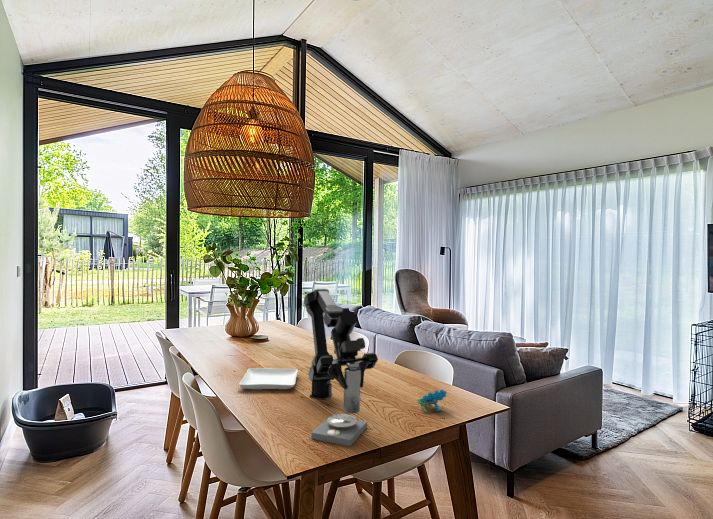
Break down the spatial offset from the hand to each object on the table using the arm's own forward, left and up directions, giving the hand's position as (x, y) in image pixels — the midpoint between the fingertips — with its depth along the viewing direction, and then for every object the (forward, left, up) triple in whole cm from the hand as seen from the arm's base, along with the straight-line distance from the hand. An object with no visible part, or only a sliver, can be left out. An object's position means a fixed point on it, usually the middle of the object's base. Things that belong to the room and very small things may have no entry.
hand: (353, 387), depth 130 cm
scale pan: (-3, -1, -10) cm, 11 cm away
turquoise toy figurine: (+18, +29, -14) cm, 37 cm away
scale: (-3, -2, -13) cm, 14 cm away
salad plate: (-47, +29, -14) cm, 57 cm away
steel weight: (-1, +1, -7) cm, 7 cm away
